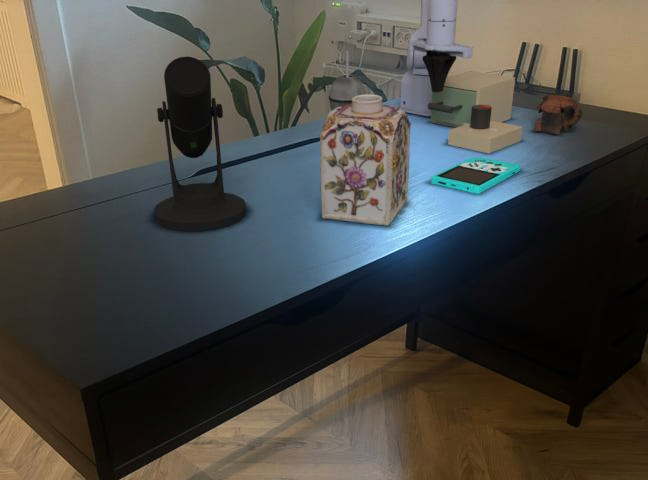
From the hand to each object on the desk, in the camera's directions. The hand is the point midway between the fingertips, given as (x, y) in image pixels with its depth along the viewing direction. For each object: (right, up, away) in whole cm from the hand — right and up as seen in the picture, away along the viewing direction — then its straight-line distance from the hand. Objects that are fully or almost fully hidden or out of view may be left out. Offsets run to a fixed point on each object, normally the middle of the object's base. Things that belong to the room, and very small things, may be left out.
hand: (437, 91), depth 154 cm
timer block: (+10, -11, 0) cm, 15 cm away
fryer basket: (+7, -2, +13) cm, 15 cm away
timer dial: (+9, -8, -1) cm, 12 cm away
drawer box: (+10, -1, +16) cm, 19 cm away
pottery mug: (+27, -6, +7) cm, 29 cm away
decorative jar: (-17, -32, -33) cm, 49 cm away
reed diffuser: (-19, -16, -7) cm, 26 cm away
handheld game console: (+4, -23, -19) cm, 30 cm away
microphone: (-44, -32, -33) cm, 64 cm away
